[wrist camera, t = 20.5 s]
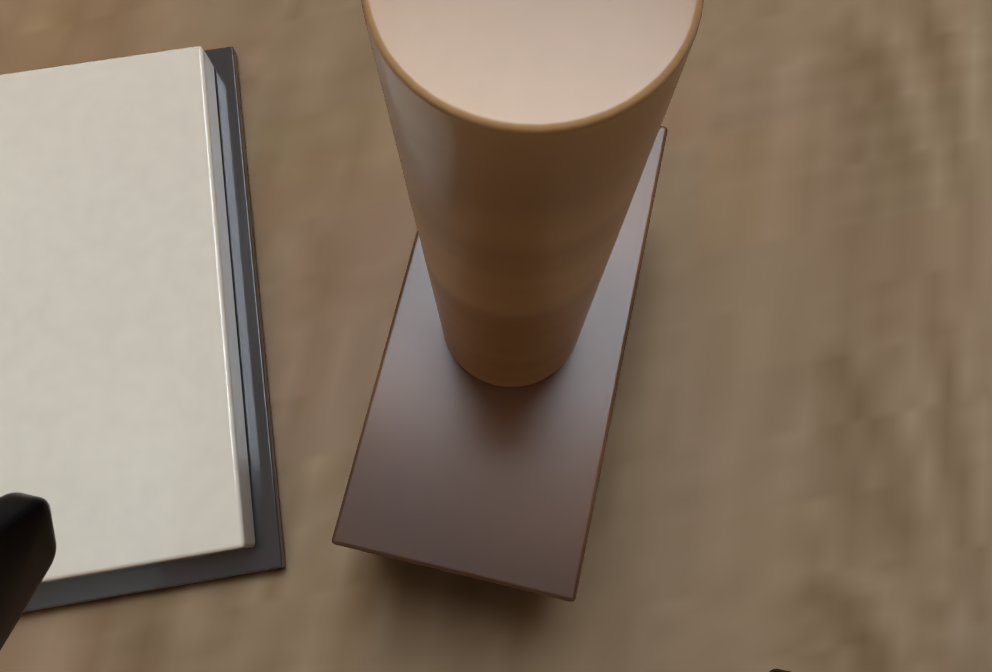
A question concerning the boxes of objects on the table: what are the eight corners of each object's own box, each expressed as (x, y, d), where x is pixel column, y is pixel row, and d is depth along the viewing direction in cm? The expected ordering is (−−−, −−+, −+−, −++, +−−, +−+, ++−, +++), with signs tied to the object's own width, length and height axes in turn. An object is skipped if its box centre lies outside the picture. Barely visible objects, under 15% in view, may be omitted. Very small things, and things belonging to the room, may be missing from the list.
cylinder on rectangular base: (559, 592, 17) (728, 709, 5) (363, 544, 18) (23, 534, 5) (637, 201, 20) (891, -420, 7) (464, 164, 20) (408, -499, 7)
